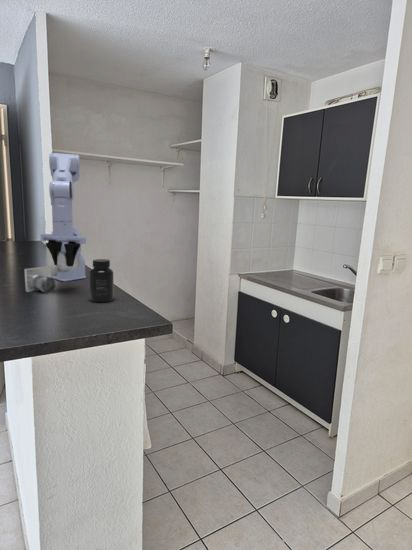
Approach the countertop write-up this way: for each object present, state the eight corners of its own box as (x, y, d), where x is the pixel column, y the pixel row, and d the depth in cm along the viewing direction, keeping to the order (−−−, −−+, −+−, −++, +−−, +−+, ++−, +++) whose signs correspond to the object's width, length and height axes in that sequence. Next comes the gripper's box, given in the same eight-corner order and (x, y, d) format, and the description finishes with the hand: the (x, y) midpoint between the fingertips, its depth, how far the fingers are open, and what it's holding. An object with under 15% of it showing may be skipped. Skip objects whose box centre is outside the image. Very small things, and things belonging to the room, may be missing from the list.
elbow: (65, 272, 114) (65, 252, 113) (54, 271, 115) (53, 251, 114) (80, 269, 122) (80, 250, 121) (69, 268, 123) (69, 249, 122)
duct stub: (25, 291, 117) (24, 269, 115) (49, 287, 123) (48, 266, 121) (36, 295, 113) (35, 272, 112) (60, 290, 119) (59, 269, 118)
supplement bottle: (118, 298, 114) (118, 259, 111) (105, 304, 108) (104, 263, 105) (98, 295, 116) (98, 257, 113) (85, 301, 110) (84, 260, 107)
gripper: (32, 220, 112) (35, 265, 114) (76, 223, 108) (77, 269, 111) (48, 219, 118) (49, 261, 121) (89, 222, 115) (90, 265, 118)
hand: (63, 265), depth 117 cm, fingers closed on elbow, 4 cm apart
